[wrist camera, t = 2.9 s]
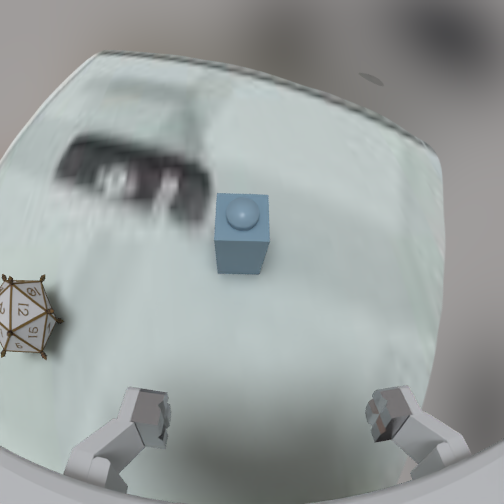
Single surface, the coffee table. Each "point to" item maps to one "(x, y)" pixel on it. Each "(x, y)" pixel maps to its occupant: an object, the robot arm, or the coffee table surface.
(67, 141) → the coffee table surface
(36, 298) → the twenty-sided die
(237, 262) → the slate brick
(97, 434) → the robot arm
